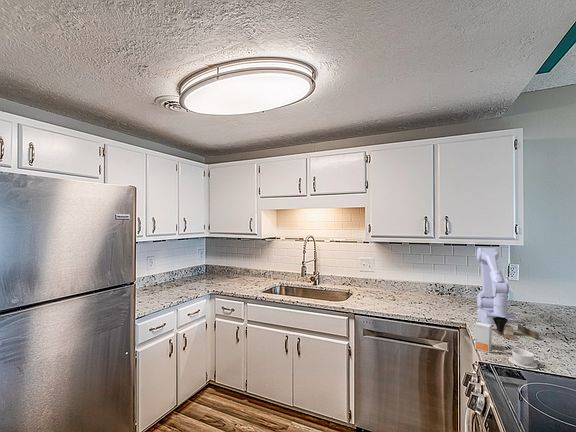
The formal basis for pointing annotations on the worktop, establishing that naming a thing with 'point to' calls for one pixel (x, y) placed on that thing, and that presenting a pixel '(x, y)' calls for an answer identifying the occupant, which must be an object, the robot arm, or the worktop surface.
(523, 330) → the box
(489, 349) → the skincare box
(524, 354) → the teacup
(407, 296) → the worktop surface
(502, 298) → the robot arm
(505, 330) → the birch block
